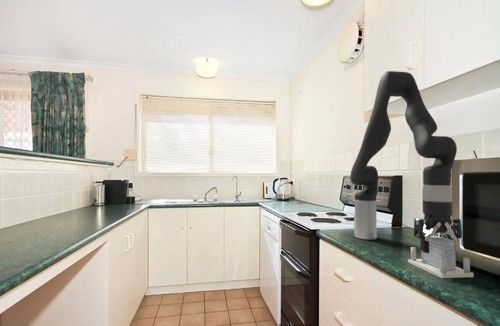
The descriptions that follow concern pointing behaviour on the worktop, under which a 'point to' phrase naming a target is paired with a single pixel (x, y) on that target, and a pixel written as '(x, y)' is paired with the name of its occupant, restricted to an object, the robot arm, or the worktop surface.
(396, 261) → the worktop surface
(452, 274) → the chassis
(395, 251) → the worktop surface
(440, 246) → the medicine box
